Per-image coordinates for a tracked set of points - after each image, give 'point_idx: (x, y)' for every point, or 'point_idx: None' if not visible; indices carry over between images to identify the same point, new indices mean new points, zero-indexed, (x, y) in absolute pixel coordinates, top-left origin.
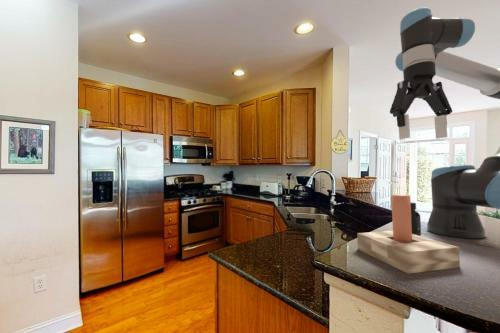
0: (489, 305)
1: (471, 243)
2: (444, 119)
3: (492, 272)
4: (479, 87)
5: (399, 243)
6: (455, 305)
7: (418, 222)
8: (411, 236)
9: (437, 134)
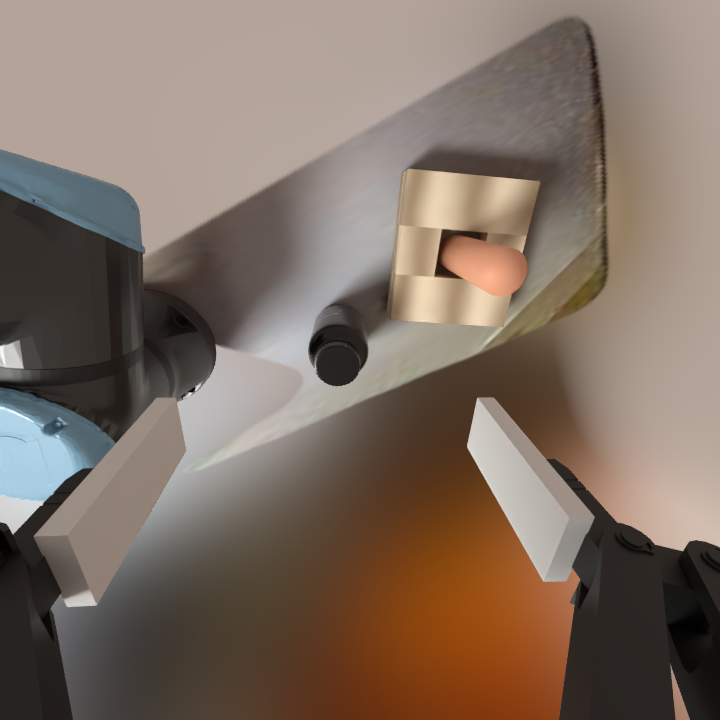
0: (530, 43)
1: (212, 270)
2: (94, 493)
3: (371, 131)
4: None
5: (496, 233)
6: (575, 65)
7: (334, 318)
8: (459, 238)
9: (174, 457)
